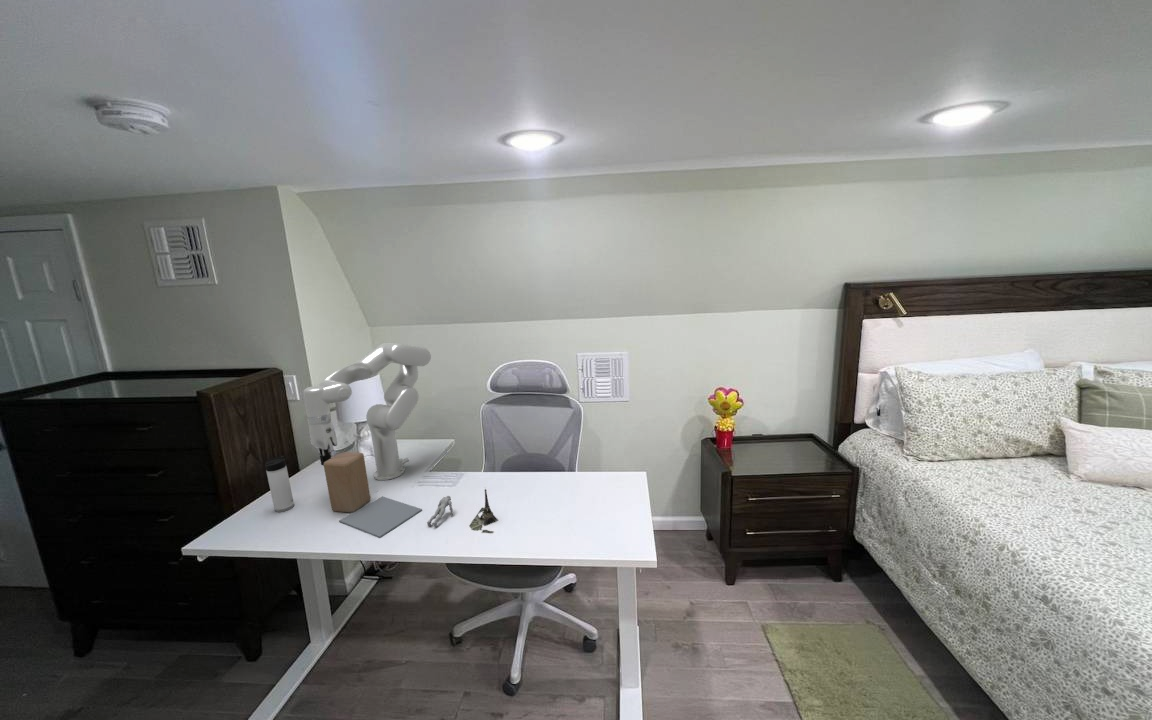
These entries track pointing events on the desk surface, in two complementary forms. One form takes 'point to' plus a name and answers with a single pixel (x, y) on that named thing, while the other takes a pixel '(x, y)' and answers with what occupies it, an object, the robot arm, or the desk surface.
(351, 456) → the block
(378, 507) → the mat
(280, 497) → the travel mug
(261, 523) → the desk surface
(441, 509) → the grey humanoid figure
